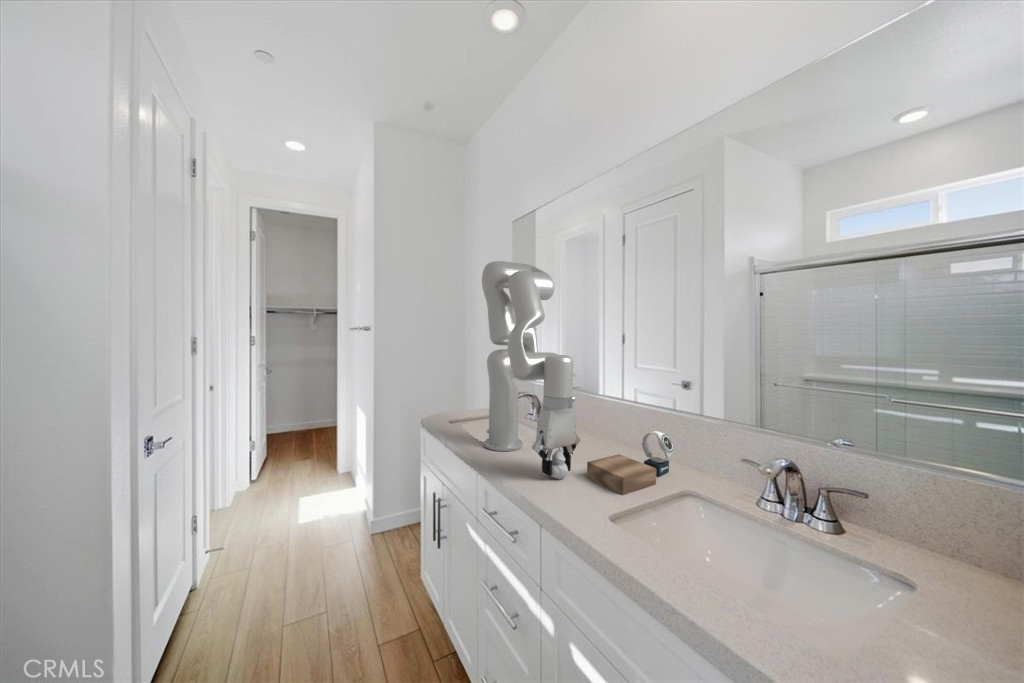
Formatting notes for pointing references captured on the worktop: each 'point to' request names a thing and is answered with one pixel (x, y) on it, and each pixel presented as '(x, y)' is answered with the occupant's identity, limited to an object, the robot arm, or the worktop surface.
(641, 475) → the walnut base
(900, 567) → the worktop surface
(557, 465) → the rubber duck
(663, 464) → the watch
